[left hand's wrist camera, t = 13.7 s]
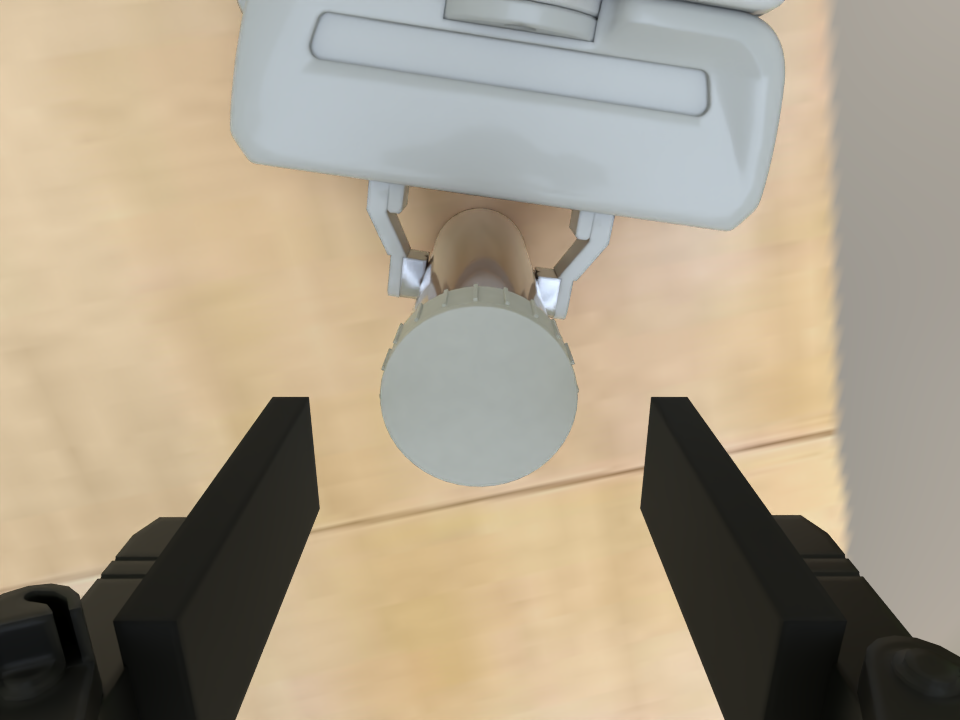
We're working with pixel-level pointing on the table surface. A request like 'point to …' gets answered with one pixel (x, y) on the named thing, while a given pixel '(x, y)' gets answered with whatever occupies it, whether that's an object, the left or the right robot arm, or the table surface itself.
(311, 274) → the table surface
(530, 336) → the lid
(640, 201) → the right robot arm
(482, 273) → the jar
